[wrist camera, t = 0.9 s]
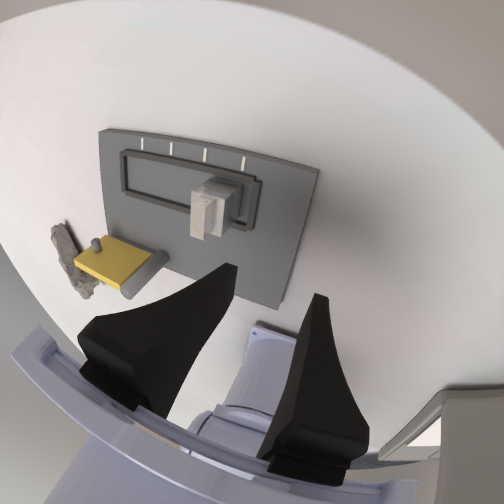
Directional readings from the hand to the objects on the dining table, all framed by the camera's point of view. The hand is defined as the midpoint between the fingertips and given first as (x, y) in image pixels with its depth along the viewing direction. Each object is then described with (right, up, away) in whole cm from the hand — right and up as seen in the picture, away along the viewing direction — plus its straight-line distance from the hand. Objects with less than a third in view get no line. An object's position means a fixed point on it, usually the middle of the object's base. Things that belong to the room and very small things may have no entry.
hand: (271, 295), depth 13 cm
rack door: (-14, +3, +13) cm, 19 cm away
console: (-7, +6, +11) cm, 14 cm away
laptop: (+40, -28, +14) cm, 51 cm away
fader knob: (-3, +6, +7) cm, 10 cm away
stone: (-22, +1, +23) cm, 32 cm away
